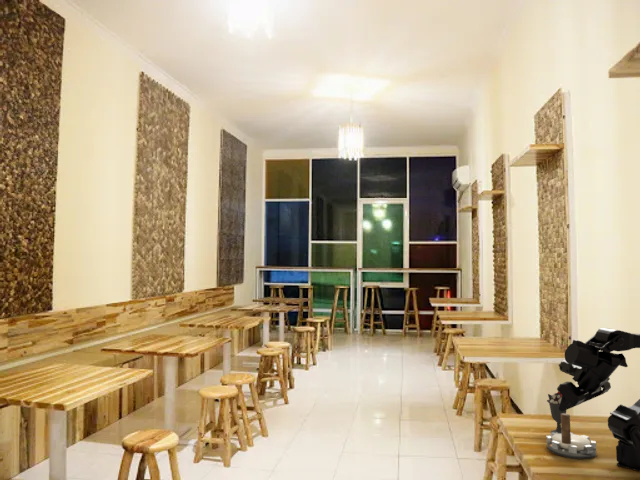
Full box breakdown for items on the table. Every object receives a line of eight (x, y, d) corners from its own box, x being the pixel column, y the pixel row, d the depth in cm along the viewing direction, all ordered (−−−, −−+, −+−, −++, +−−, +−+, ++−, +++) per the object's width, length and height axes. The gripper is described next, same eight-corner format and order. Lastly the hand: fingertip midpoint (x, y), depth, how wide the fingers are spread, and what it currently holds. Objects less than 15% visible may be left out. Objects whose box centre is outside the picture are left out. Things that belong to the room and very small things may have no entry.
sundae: (574, 436, 155) (572, 389, 156) (553, 436, 156) (551, 389, 156) (564, 429, 162) (562, 384, 163) (544, 429, 162) (542, 384, 163)
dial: (594, 444, 144) (593, 411, 144) (583, 453, 137) (582, 419, 137) (559, 435, 151) (558, 405, 152) (547, 444, 144) (545, 412, 145)
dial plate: (602, 450, 144) (601, 438, 144) (587, 463, 135) (587, 451, 135) (556, 439, 153) (556, 428, 153) (540, 450, 144) (539, 439, 144)
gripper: (591, 344, 145) (564, 379, 153) (556, 355, 135) (529, 392, 143) (625, 372, 138) (594, 407, 146) (590, 385, 127) (559, 423, 135)
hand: (568, 406), depth 142 cm, fingers open, 9 cm apart
